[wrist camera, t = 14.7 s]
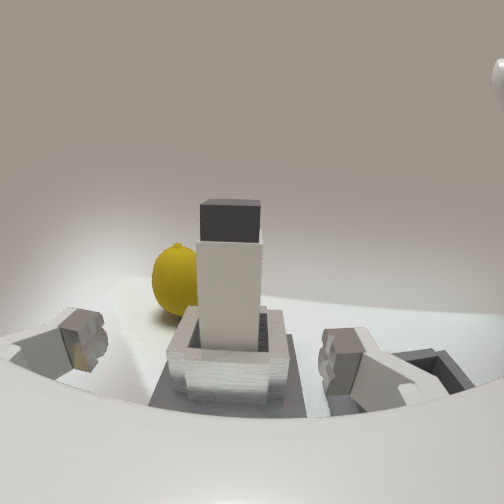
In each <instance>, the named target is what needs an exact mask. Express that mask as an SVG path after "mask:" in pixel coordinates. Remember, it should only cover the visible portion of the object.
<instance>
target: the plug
mask: <svg viewBox="0 0 504 504" xmlns="http://www.w3.org/2000/svg"><path fill="white" fill-rule="evenodd" d="M259 229H260V200H242V199H209V200H207V201H205V202H204V203H202V204H200V238H199V239H198V240H197V241H196V264H197V291H198V312H199V328H200V343H201V349H210V350H225V351H244V352H258V334H259V314H260V295H261V273H262V252H263V241H262V231H261V230H259Z"/></svg>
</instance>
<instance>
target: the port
mask: <svg viewBox="0 0 504 504" xmlns="http://www.w3.org/2000/svg"><path fill="white" fill-rule="evenodd" d="M166 353H167V359H168V360H167V362H166V365H165V367H164V369H163V371H162V374H161V376H160V378H159V381H158V383H157V385H156V388H155V390H154V392H153V395H152V397H151V400H150V402H149V404H148V406H150V407H155V408H160V409H166V410H172V411H179V412H186V413H194V414H203V415H213V416H224V417H239V418H266V419H288V418H307V415H306V410H305V404H304V398H303V393H302V387H301V382H300V376H299V371H298V365H297V360H296V354H295V349H294V344H293V339H292V334H286V331H285V325H284V319H283V313H282V310H267V307H266V306H260V314H259V334H258V352H244V351H225V350H210V349H201V343H200V328H199V312H198V306H188V307H187V309H186V311H185V313H184V315H183V317H182V319H181V321H180V323H179V325H178V327H177V329H176V331H175V333H174V336H173V338H172V340H171V342H170V344H169V346H168V348H167V350H166Z"/></svg>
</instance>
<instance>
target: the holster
mask: <svg viewBox="0 0 504 504" xmlns="http://www.w3.org/2000/svg"><path fill="white" fill-rule="evenodd" d="M392 355H394V356H396V357H398V358H400V359H402V360H404V361H406V362H408V363H410V364H412V365H414V366H416V367H418V368H420V369H422V370H424V371H426V372H428V373H430V374H432V375H434V376H436V377H437V378H438V379H439V381H440V382H441V383H442V385H443V386H444V388H445V389H446V390H447V392H448V393H449V395H452V394H455V393H459V392H462V391H465V390H468V389H471V388H474V387H475V386H474V384H473V383H472V382H471V381H470V379H469V378H468V377H467V376H466V375H465V373H464V372H463V371H462V370H461V369H460V367H459V366H458V365H457V364H456V363H455V361H454V360H453V359H452V358H451V357H450V356H449V355H448V353H447V352H446V351H445V350H443V351H438V352H435V351H434V350H433V349H432V348H430V349H424V350H416V351H409V352H401V353H392ZM327 399H328V403H329V407H330V410H331V414H332V416H342V415H351V414H359V413H367V411H366V410H365V409H364V408H363V407H361V406H360V405H359V404H358V403H357V402H356V401H355V400H353V399H352V398H351V397H350V396H349V395H339V396H327Z"/></svg>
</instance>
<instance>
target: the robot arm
mask: <svg viewBox="0 0 504 504" xmlns="http://www.w3.org/2000/svg"><path fill="white" fill-rule="evenodd" d="M492 85H493V90H494V93H495V96H496V99H497V101H498V103H499V105H500V106H501V108H502V109H503V111H504V58H503V59H498V60H497V62H496V64H495V65H494V68H493V73H492ZM103 325H104V320H103V316H102V315H101V314H100V313H99V312H93V311H89V310H83V309H79V308H73V307H67V308H66V309H65V310H64V311H63V312H61V313H60V314H59V315H58V316H56V317H55V318H54V319H53V320H52V321H51V322H49V323H48V324H42V325H39V326H36V327H32V328H29V329H26V330H23V331H19V332H16V333H13V334H9V335H6V336H3V337H0V504H504V376H503V377H501V378H498V379H496V380H493V381H491V382H488V383H485V384H483V385H480V386H477V387H474V388H471V389H468V390H465V391H462V392H459V393H455V394H452V395H449V393H448V392H447V390H446V389H445V388H444V386H443V385H442V383H441V382H440V381H439V379H438V378H437V377H436V376H434V375H432V374H430V373H428V372H426V371H424V370H422V369H420V368H418V367H416V366H414V365H412V364H410V363H408V362H406V361H404V360H402V359H400V358H398V357H396V356H394V355H392V354H390V353H388V352H386V351H381V350H380V348H379V347H378V345H377V344H376V342H375V340H374V339H373V337H372V336H371V334H370V333H369V331H368V329H367V328H365V327H357V328H339V329H324V332H323V336H322V342H323V345H324V346H323V347H322V348H321V349H320V351H319V357H318V368H319V373H320V375H321V376H322V377H324V378H323V382H322V384H323V388H324V391H325V395H326V396H339V395H349V396H350V397H351V398H352V399H353V400H355V401H356V402H357V403H358V404H359V405H360V406H361V407H363V408H364V409H365V410H366V411H367V413H359V414H351V415H342V416H330V417H316V418H288V419H266V418H239V417H224V416H213V415H203V414H194V413H186V412H179V411H172V410H166V409H160V408H155V407H150V406H144V405H140V404H135V403H130V402H126V401H122V400H118V399H114V398H110V397H106V396H102V395H98V394H95V393H92V392H88V391H85V390H82V389H78V388H76V387H72V386H70V385H67V384H64V383H61V382H58V381H55V379H57V378H59V377H61V376H62V375H64V374H66V373H67V372H69V371H71V370H73V368H74V369H77V370H81V371H85V372H90V373H91V371H92V370H93V369H94V367H95V366H96V364H97V363H98V360H97V358H99V357H101V356H103V355H104V354H105V352H106V350H107V346H108V337H107V333H106V332H105V331H104V329H103V328H102V327H103Z"/></svg>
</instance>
